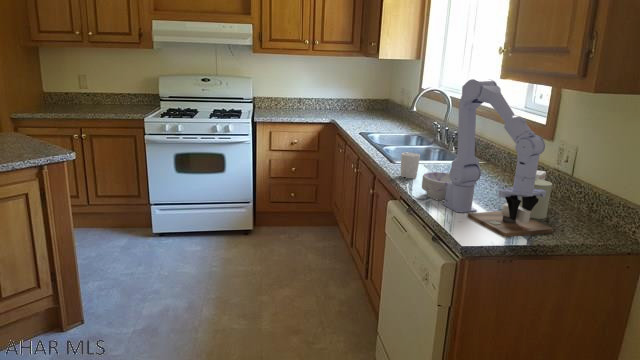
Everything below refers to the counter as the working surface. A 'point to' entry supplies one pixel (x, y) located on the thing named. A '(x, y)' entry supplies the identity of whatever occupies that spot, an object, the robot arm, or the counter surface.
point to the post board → (508, 224)
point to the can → (541, 200)
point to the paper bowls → (436, 184)
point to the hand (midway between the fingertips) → (518, 218)
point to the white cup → (409, 164)
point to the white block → (522, 213)
